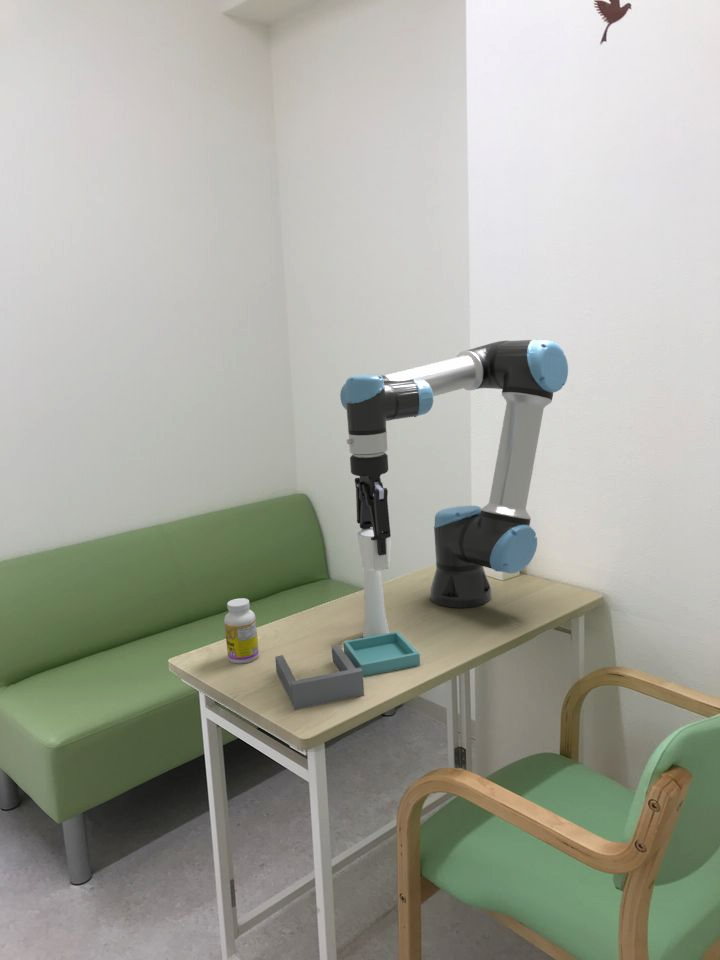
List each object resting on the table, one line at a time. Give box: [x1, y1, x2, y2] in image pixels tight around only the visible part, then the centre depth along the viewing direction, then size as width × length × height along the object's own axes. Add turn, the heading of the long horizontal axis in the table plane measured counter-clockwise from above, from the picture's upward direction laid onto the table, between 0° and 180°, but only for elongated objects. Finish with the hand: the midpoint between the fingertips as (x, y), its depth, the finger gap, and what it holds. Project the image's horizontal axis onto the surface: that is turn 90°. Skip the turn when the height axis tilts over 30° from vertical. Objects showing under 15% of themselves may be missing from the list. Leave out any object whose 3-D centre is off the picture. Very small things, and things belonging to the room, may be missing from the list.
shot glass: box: [357, 529, 392, 570], centre depth 156 cm, size 7×7×7 cm
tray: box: [342, 630, 421, 677], centre depth 161 cm, size 13×13×2 cm
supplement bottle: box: [223, 597, 260, 664], centre depth 164 cm, size 7×7×13 cm
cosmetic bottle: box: [362, 568, 390, 638], centre depth 171 cm, size 6×6×22 cm
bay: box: [274, 644, 365, 710], centre depth 151 cm, size 17×14×5 cm
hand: (375, 563), depth 157 cm, fingers closed on shot glass, 7 cm apart
